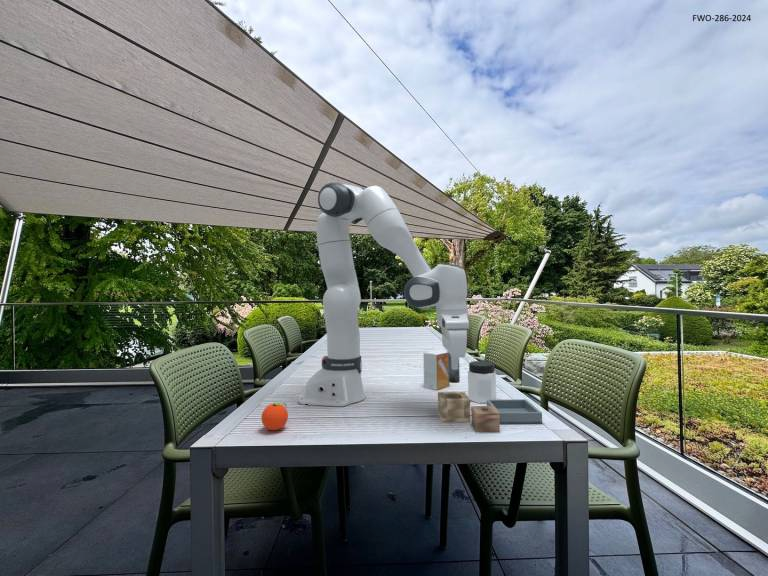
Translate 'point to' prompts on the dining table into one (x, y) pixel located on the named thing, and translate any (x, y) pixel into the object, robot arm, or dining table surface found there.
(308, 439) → the dining table surface
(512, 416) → the tray
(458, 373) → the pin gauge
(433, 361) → the small box
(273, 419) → the clementine
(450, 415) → the beech block
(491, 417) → the walnut block
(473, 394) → the jar
